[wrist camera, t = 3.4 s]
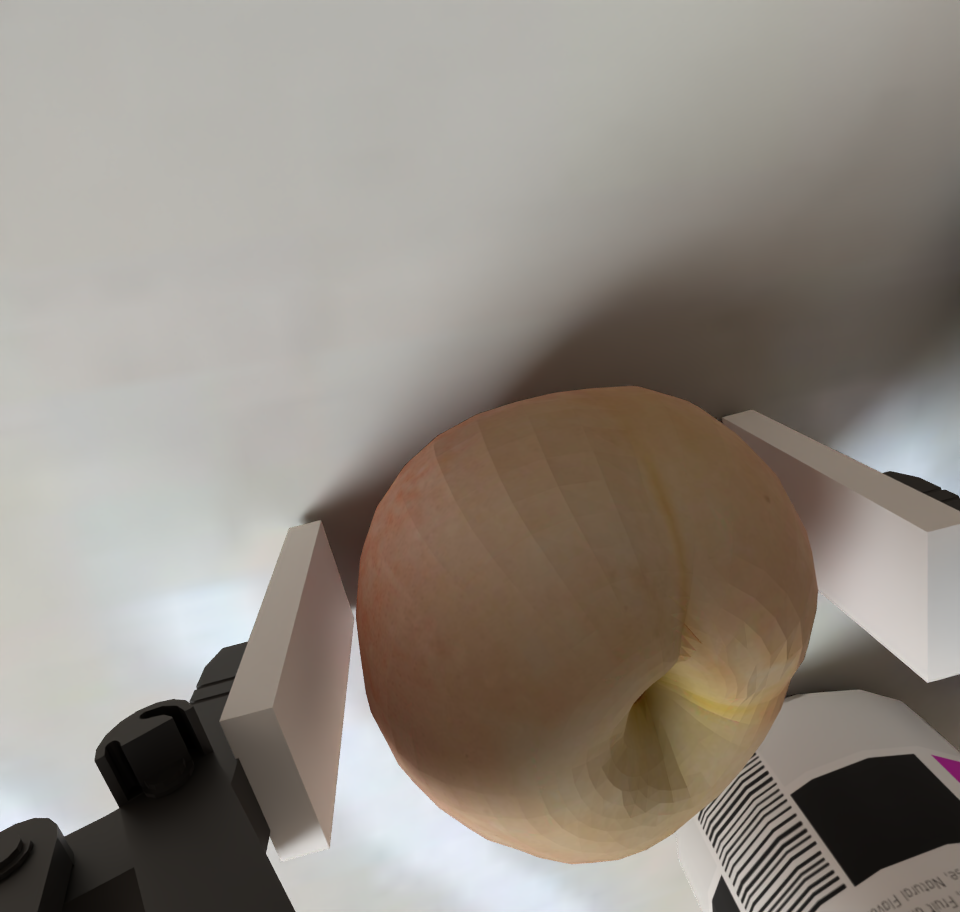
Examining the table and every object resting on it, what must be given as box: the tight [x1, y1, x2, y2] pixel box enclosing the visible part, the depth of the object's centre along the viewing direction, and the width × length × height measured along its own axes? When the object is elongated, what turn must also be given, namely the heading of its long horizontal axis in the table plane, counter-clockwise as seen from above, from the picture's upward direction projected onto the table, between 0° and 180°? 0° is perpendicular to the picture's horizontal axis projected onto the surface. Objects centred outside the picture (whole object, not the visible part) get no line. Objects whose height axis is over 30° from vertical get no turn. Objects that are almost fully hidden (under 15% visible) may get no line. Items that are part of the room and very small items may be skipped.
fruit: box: [356, 386, 818, 864], centre depth 13 cm, size 8×8×8 cm
